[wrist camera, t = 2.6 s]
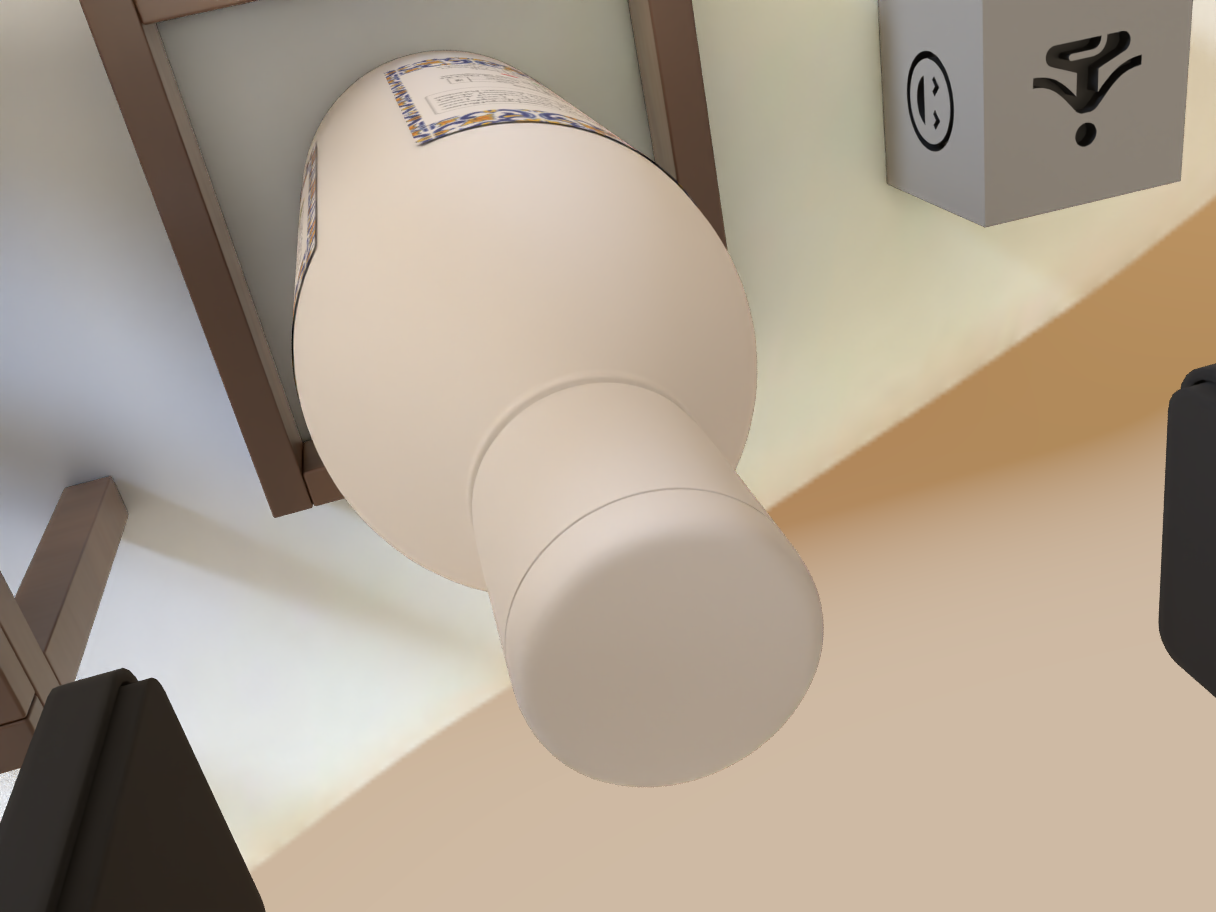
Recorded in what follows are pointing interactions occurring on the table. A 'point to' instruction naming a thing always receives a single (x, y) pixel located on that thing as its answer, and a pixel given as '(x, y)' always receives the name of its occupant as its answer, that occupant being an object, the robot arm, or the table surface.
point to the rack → (248, 326)
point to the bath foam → (551, 410)
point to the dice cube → (1032, 101)
